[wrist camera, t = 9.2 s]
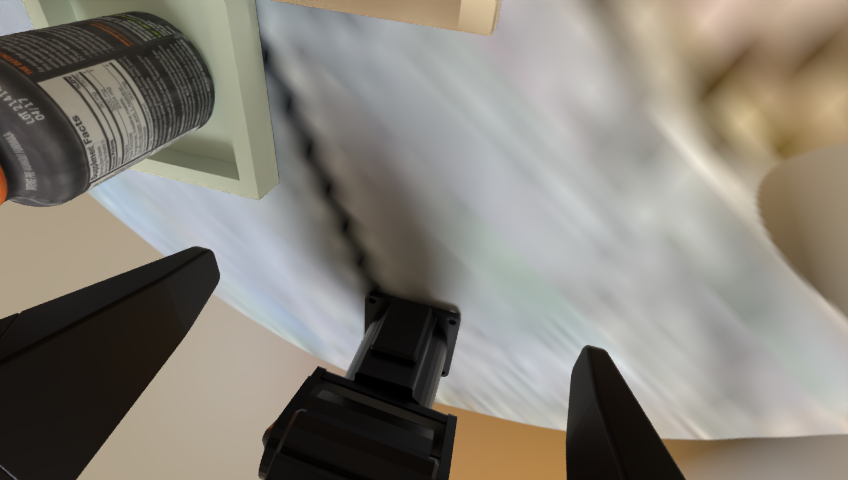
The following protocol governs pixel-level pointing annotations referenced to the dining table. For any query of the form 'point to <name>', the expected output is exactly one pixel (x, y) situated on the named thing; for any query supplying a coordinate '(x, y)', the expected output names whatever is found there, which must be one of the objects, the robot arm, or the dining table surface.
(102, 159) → the pill bottle
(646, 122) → the dining table surface
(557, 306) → the dining table surface
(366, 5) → the socket collar
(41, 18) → the tray
